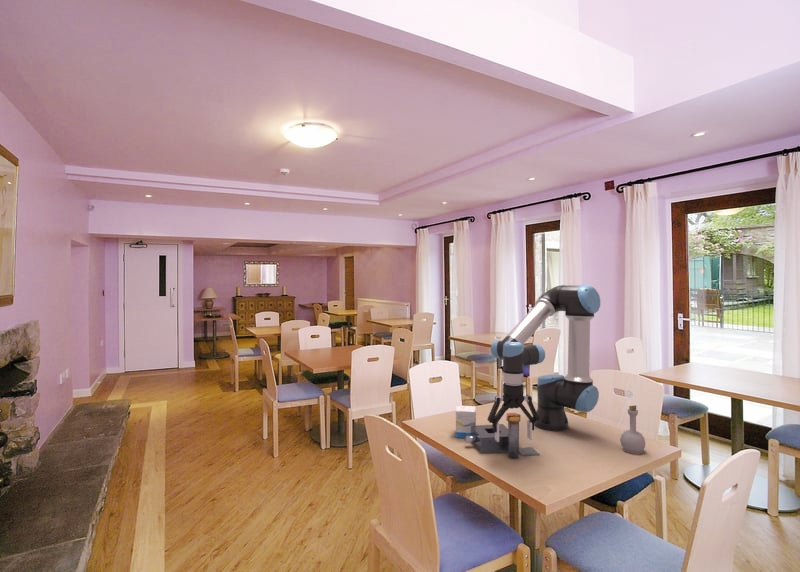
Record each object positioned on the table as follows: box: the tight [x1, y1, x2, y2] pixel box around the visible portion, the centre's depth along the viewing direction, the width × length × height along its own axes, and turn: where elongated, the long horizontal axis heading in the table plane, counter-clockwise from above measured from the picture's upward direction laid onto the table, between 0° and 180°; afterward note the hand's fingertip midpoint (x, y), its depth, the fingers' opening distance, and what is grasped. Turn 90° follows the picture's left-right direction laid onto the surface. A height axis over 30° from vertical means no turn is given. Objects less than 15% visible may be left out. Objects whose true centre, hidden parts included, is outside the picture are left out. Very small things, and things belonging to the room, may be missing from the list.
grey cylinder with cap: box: [505, 412, 522, 460], centre depth 162 cm, size 5×5×16 cm
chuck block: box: [465, 423, 508, 454], centre depth 173 cm, size 18×14×6 cm
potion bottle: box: [619, 405, 646, 455], centre depth 167 cm, size 9×9×18 cm
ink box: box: [455, 405, 477, 439], centre depth 185 cm, size 9×8×12 cm
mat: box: [519, 446, 541, 457], centre depth 166 cm, size 7×7×1 cm
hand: (513, 439), depth 162 cm, fingers open, 12 cm apart
